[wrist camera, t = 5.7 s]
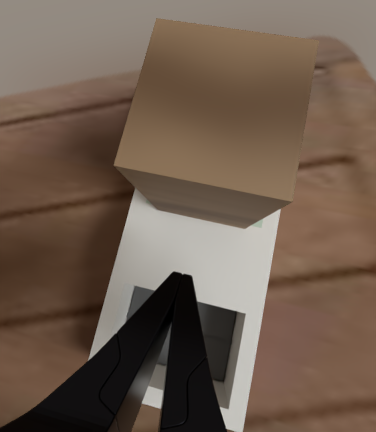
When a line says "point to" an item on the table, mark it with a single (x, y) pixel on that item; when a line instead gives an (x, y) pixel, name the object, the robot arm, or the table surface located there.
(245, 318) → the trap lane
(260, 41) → the walnut block
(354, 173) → the table surface
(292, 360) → the table surface
